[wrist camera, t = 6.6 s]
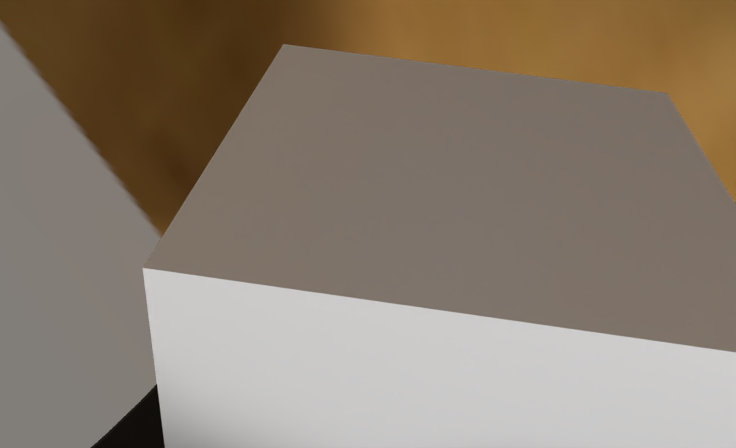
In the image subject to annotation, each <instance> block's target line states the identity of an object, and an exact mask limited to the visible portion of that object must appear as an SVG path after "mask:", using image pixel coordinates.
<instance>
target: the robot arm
mask: <svg viewBox="0 0 736 448" xmlns="http://www.w3.org/2000/svg"><path fill="white" fill-rule="evenodd" d="M91 448H165V445H164V436H163V428H162V420H161V412H160V404H159V396H158V388H157V384H156V385H155V386H154V388H153V389H152V390H151V391H150V392H149V393H148V394H147V395H146V396H145V397H144V398H143V399H142V400H141V401H140V402H139V403H138V404H137V405H136V406H135V407H134V408H133V409H132V410H131V411H130V412H129V413H128V414H127V415H126V416H124V417H123V418H122V419H121V420H120V421H119V422H118V423H117V424H116V425H115V426H114V427H113V428H112V429H111V430H110V431H109V432H108V433H107V434H106V435H105V436H103V437H102V438H101V439H100V440H99V441H98V442H97V443H96V444H94V445H93V446H92V447H91Z"/></svg>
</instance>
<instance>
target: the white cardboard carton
mask: <svg viewBox="0 0 736 448" xmlns="http://www.w3.org/2000/svg"><path fill="white" fill-rule="evenodd" d="M143 274H144V282H145V290H146V298H147V307H148V314H149V323H150V331H151V339H152V347H153V355H154V363H155V372H156V380H157V388H158V396H159V404H160V412H161V420H162V428H163V436H164V445H165V448H736V204H735V202H734V201H733V199H732V197H731V196H730V194H729V193H728V191H727V189H726V188H725V186H724V185H723V183H722V181H721V180H720V178H719V176H718V175H717V173H716V172H715V170H714V168H713V167H712V165H711V164H710V162H709V160H708V159H707V157H706V156H705V154H704V152H703V151H702V149H701V147H700V146H699V144H698V143H697V141H696V139H695V138H694V136H693V135H692V133H691V131H690V130H689V128H688V126H687V125H686V123H685V122H684V120H683V118H682V117H681V115H680V114H679V112H678V110H677V109H676V107H675V105H674V104H673V102H672V101H671V99H670V97H669V96H668V94H667V93H664V92H656V91H648V90H640V89H632V88H624V87H617V86H609V85H601V84H593V83H585V82H577V81H569V80H562V79H554V78H546V77H538V76H530V75H522V74H514V73H507V72H499V71H491V70H483V69H475V68H467V67H459V66H452V65H444V64H436V63H428V62H420V61H412V60H405V59H397V58H389V57H381V56H373V55H365V54H357V53H350V52H342V51H334V50H326V49H318V48H310V47H302V46H295V45H287V44H283V45H282V47H281V49H280V50H279V52H278V53H277V55H276V57H275V58H274V60H273V61H272V63H271V65H270V66H269V68H268V69H267V71H266V73H265V74H264V76H263V77H262V79H261V80H260V82H259V84H258V85H257V87H256V88H255V90H254V92H253V93H252V95H251V96H250V98H249V100H248V101H247V103H246V104H245V106H244V108H243V109H242V111H241V112H240V114H239V115H238V117H237V119H236V120H235V122H234V123H233V125H232V127H231V128H230V130H229V131H228V133H227V135H226V136H225V138H224V139H223V141H222V143H221V144H220V146H219V147H218V149H217V150H216V152H215V154H214V155H213V157H212V158H211V160H210V162H209V163H208V165H207V166H206V168H205V170H204V171H203V173H202V174H201V176H200V178H199V179H198V181H197V182H196V184H195V185H194V187H193V189H192V190H191V192H190V193H189V195H188V197H187V198H186V200H185V201H184V203H183V205H182V206H181V208H180V209H179V211H178V213H177V214H176V216H175V217H174V219H173V220H172V222H171V224H170V225H169V227H168V228H167V230H166V232H165V233H164V235H163V236H162V238H161V240H160V241H159V243H158V244H157V246H156V248H155V249H154V251H153V252H152V254H151V256H150V258H149V259H148V260H147V262H146V263H145V265H144V267H143Z"/></svg>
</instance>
